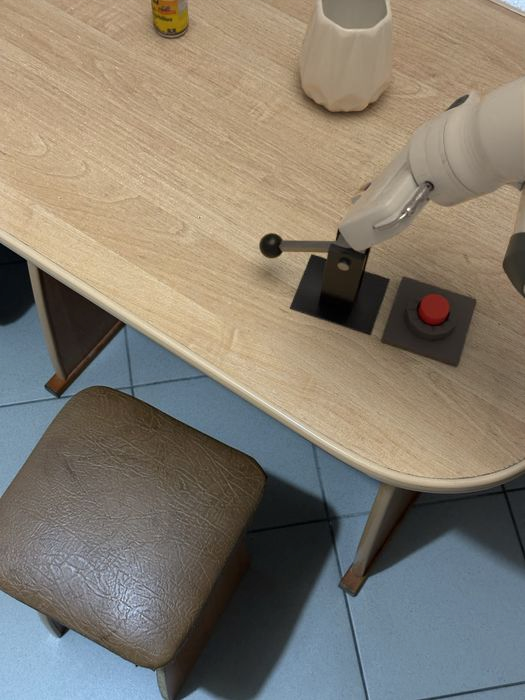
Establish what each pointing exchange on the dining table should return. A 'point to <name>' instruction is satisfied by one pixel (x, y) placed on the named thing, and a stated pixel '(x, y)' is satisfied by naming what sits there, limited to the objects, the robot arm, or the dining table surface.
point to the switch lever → (297, 245)
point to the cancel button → (433, 309)
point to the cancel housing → (422, 337)
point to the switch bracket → (341, 289)
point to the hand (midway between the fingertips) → (360, 197)
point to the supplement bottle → (170, 17)
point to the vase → (347, 53)
